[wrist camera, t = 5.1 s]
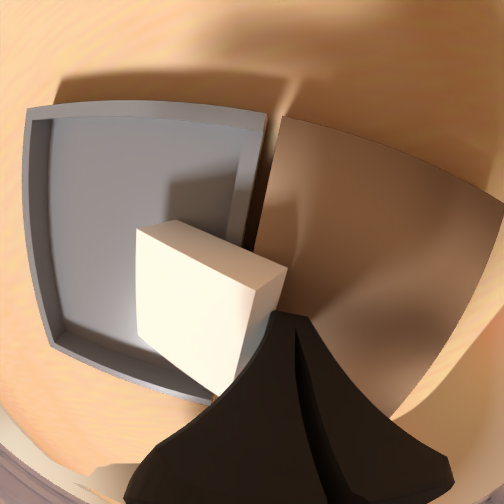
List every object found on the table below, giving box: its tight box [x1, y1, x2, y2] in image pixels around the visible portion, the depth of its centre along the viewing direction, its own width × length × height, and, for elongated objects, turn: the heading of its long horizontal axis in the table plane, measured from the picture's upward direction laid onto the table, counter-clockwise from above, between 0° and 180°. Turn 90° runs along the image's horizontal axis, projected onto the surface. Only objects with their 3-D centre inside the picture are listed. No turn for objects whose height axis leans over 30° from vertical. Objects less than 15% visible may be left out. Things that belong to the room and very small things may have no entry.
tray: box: [22, 100, 268, 406], centre depth 11 cm, size 14×11×2 cm
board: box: [253, 116, 504, 418], centre depth 11 cm, size 14×10×2 cm
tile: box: [136, 220, 288, 396], centre depth 10 cm, size 5×5×2 cm
